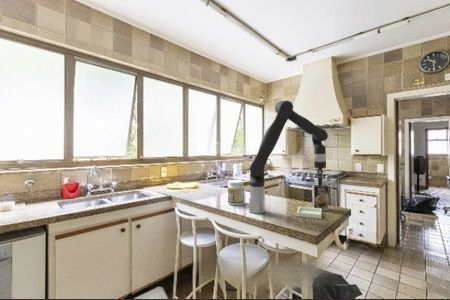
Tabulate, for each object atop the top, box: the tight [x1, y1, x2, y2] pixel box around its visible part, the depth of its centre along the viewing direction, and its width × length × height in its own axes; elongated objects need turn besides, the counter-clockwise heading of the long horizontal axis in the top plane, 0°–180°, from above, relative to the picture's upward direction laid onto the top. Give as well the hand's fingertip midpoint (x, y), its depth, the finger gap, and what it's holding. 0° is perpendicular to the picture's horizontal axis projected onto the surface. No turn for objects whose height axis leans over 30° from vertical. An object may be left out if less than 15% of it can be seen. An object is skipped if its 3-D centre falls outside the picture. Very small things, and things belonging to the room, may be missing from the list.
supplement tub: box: [227, 179, 245, 206], centre depth 176 cm, size 12×12×17 cm
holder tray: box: [296, 206, 323, 220], centre depth 148 cm, size 14×14×3 cm
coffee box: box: [311, 184, 329, 212], centre depth 158 cm, size 9×6×16 cm
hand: (320, 184), depth 158 cm, fingers open, 8 cm apart
